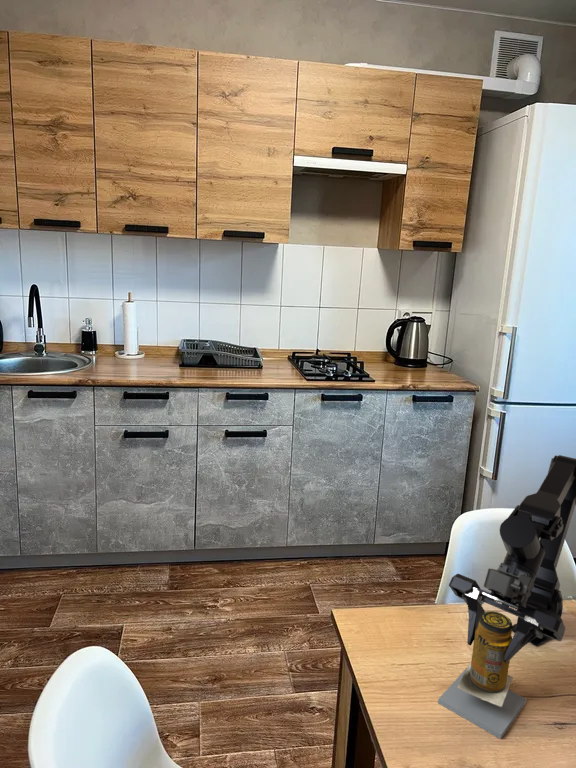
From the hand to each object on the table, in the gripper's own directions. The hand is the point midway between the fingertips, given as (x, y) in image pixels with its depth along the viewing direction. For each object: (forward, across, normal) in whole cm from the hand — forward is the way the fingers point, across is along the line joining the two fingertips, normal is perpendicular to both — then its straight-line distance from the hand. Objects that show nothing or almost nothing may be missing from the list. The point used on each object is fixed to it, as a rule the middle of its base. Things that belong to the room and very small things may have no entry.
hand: (486, 653), depth 98 cm
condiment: (+4, 0, +6) cm, 7 cm away
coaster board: (+7, 0, +8) cm, 10 cm away
